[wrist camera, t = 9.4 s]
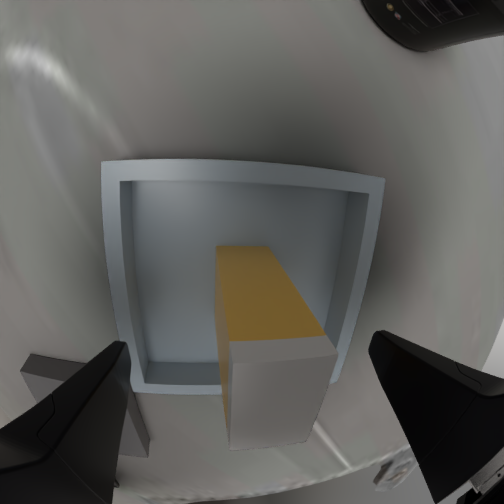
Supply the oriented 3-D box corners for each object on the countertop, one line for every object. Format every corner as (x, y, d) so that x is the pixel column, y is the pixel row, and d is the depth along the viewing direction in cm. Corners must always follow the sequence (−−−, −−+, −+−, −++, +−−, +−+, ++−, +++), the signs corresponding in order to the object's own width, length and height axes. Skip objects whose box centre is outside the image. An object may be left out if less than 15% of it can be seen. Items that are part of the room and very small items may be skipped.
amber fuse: (261, 317, 15) (306, 441, 7) (214, 318, 14) (229, 450, 7) (268, 246, 14) (338, 354, 6) (216, 245, 13) (233, 363, 6)
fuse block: (149, 439, 18) (148, 457, 17) (69, 426, 17) (64, 442, 15) (126, 368, 15) (120, 389, 14) (30, 353, 14) (19, 371, 12)
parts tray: (322, 357, 18) (336, 382, 15) (139, 363, 15) (133, 391, 13) (358, 173, 14) (385, 178, 11) (119, 159, 11) (101, 161, 9)
